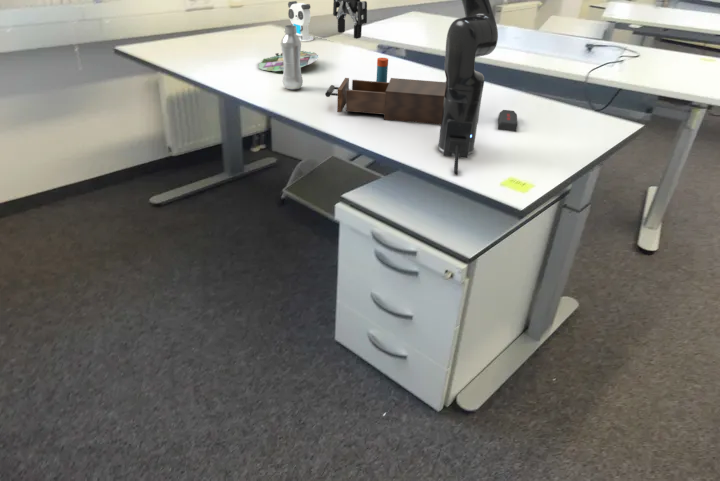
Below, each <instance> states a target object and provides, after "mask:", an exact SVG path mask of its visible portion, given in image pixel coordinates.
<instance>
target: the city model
mask: <svg viewBox="0 0 720 481" xmlns="http://www.w3.org/2000/svg"><path fill="white" fill-rule="evenodd" d="M318 59H319V54H318V53H317V52H316V51H305V50H301V52H300V68H301V69H302V68H303V67H306V66H308V65H312V64H313V63H314V62H317V60H318ZM283 61H284V60H283V54H282V52H281V53H279V52H277V53H275V55H273V56H270V57H266V58H265V57H264V58H263V59H262V60H261V62H260V63H258V70H261V71H266V72H270V71H272V72H281V71H282V72H283V71H284V63H283Z"/></svg>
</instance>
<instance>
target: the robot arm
mask: <svg viewBox="0 0 720 481" xmlns="http://www.w3.org/2000/svg"><path fill="white" fill-rule="evenodd" d="M460 1H461V4H462V8H463V11H464V16H465V17H459V18H457V19H454V21H452V23H451V24H450V25H449V27H448V30H447V34H446V40H445V51H444V52H445V54H444V75H445V82H446V86H445V95H444V102H443V111H442V119H441V125H440V128H439V138H438V144H437V151H439V153H441V154H442V155H443V156H444V157H453V158H454V165H453V174H454V175H458V173H459V169H458V168H459V159H460V158H463V159H468V157H470V156H472V155H473V154H474V151H475V142H476V135H477V129H478V123H479V116H480V110H481V104H482V97H483V91H484V85H485V76H484V74H483V73H482V72H480V71H477V70H476V68H475V63H476V58H479V57H484V56H488V55H490V54H492V53H493V52H494V50H495V49H496V48H497V45H498V41H499V31H498V30H499V29H498V25H497V20H496V17H495V14H494V10H493V8H492V5H491V1H490V0H460ZM332 6H333V7H332V8H333V9H332V15H333V17H336V20H337V33H339V34H340V33H341V34H342V33H345V32H346V17H347V15H348V16H349V17H350V19H351V20H352V22H353V39H356V40H357V39H361V38H362V29H363V28H362V26H363V25H366V24H367V23H368V2H367V1H366V0H363V1H362V0H333V5H332Z"/></svg>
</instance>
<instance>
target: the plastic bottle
mask: <svg viewBox="0 0 720 481" xmlns="http://www.w3.org/2000/svg"><path fill="white" fill-rule="evenodd" d="M283 32H284V33H285V34H284V35H283V37H282V38H281V41H280V48H281V53H282V54H283V60H284V61H283V63H284V70H283V71H282V72H283V74H282V85H283V87H284V89H287V90H299V89H301V88H302V86H303V81H304V80H303V75H302V67H301V68H300V52H301V51H302V42H301V41H300V39H299V38H298V36H297V35H296V33H297V31H296V26H294V25H291V24H288V25H287V24H286V25H284V30H283Z"/></svg>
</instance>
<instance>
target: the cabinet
mask: <svg viewBox="0 0 720 481" xmlns="http://www.w3.org/2000/svg"><path fill="white" fill-rule="evenodd" d="M388 83H389V84H388V87H387V89H386V95H385V112H384V114H383V120H384V121H395V122H406V123H418V124H428V125H439V126H441V119H442V111H443V102H444V95H445V86H446V81H436V80H423V79H409V78H399V77H398V78H397V77H390V79H389V82H388Z"/></svg>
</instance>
